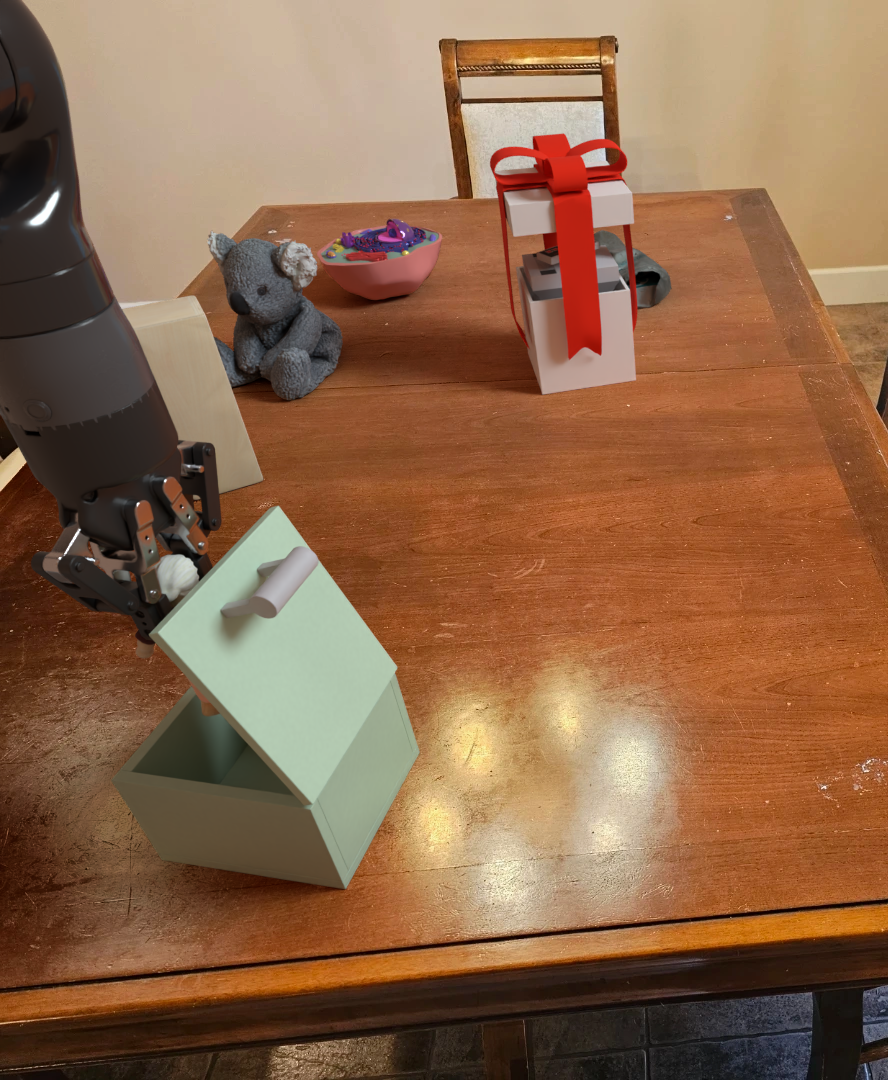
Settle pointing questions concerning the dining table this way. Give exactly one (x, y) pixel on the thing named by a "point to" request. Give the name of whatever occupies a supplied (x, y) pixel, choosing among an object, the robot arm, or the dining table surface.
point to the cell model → (382, 259)
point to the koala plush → (274, 316)
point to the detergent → (638, 270)
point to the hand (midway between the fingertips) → (186, 617)
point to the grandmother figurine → (176, 584)
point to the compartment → (264, 796)
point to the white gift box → (570, 262)
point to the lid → (279, 653)
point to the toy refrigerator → (196, 385)
